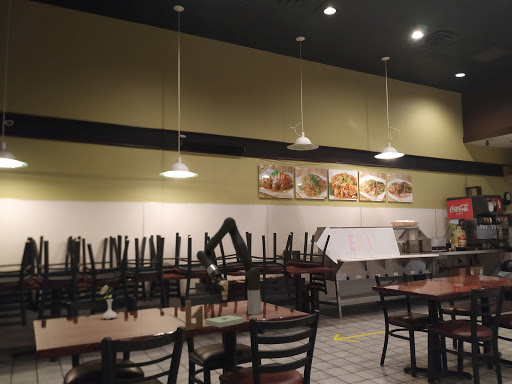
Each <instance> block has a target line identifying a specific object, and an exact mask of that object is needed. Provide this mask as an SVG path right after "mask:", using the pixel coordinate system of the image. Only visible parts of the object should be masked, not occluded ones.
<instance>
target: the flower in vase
mask: <svg viewBox="0 0 512 384" xmlns="http://www.w3.org/2000/svg"><path fill="white" fill-rule="evenodd" d="M108 289H109V286H108V285H107V284H106V285H104V286H103V287H101V290H100V291H99V294H100V295H104V294H106V295H105V296H104V297H103V298H102V299H104V300H106V303H107V310H106V311H105V312H104V313H103V314H102V315H101V319H103V318H105V319H104V320H112V319H111V318H113V319H115V318H117V317H118V316H119V315H118V314H117V313H116V312H115V311H113V310H112V303H113V301H114V299H113V298H112V297H113V296H112V294H110V295H108V292H107V291H108ZM107 298H108V299H107Z"/></svg>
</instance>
